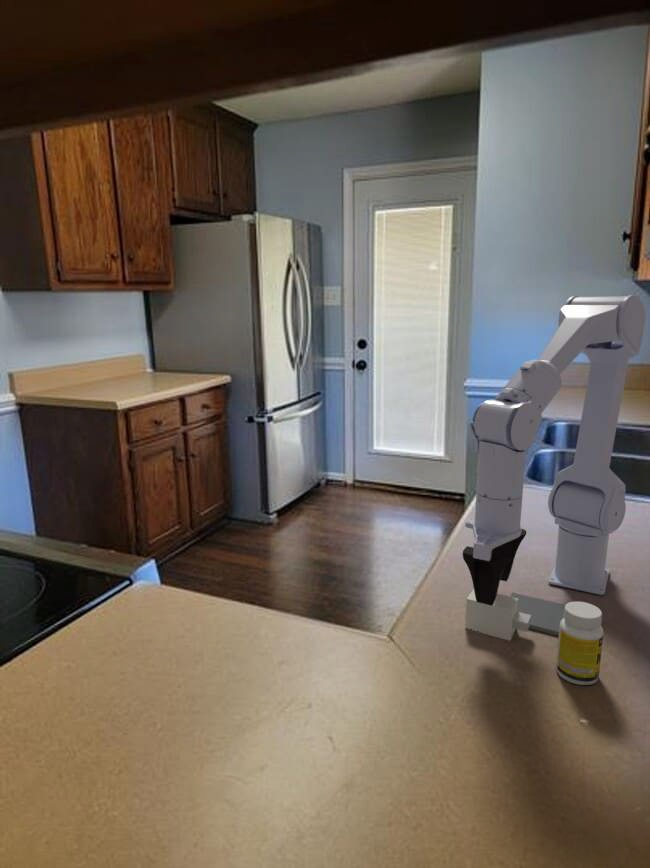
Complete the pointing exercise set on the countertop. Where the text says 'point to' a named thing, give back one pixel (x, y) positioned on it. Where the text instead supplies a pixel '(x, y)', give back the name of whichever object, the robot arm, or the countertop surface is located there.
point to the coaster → (541, 613)
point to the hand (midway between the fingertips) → (492, 590)
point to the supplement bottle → (580, 643)
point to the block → (496, 616)
